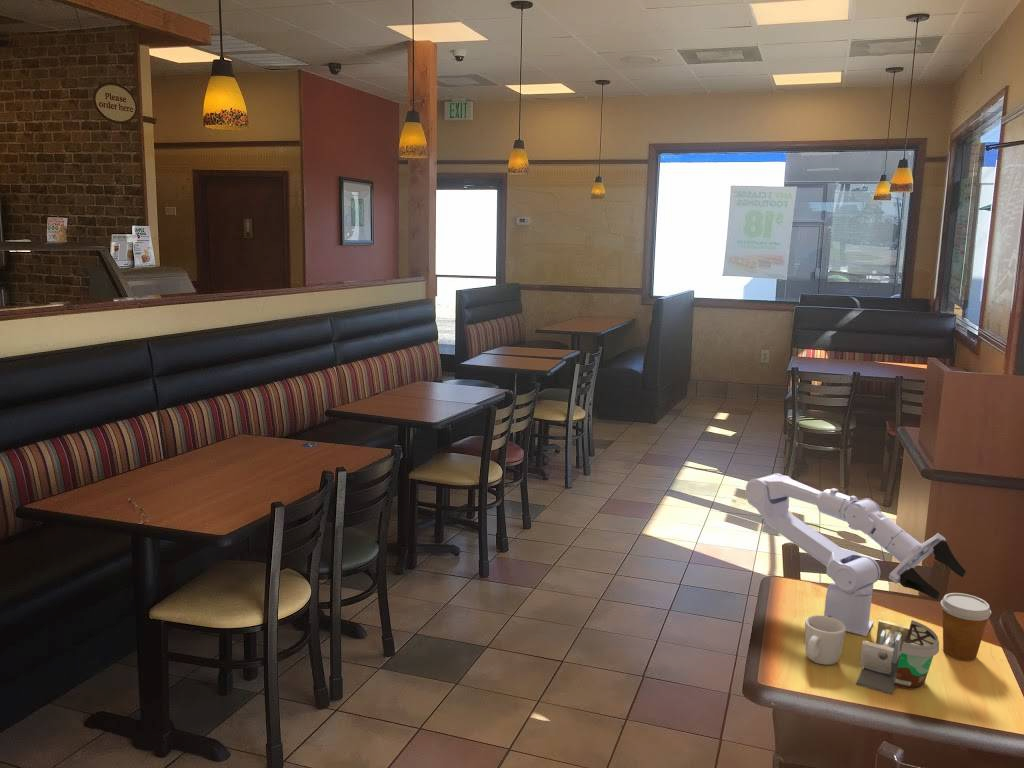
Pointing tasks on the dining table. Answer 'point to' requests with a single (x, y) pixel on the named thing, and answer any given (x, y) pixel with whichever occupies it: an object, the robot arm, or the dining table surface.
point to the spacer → (894, 627)
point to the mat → (879, 679)
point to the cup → (824, 639)
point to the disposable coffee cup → (963, 625)
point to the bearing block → (895, 645)
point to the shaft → (879, 654)
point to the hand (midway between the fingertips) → (951, 585)
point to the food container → (916, 656)
